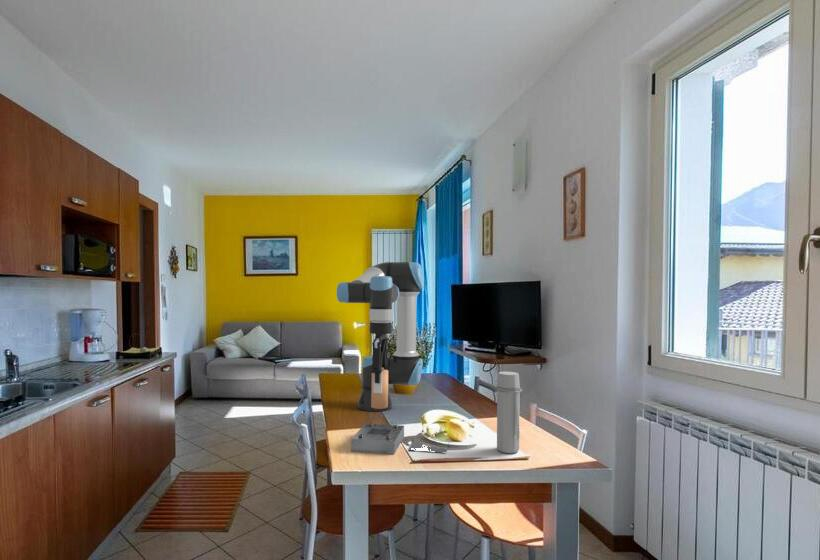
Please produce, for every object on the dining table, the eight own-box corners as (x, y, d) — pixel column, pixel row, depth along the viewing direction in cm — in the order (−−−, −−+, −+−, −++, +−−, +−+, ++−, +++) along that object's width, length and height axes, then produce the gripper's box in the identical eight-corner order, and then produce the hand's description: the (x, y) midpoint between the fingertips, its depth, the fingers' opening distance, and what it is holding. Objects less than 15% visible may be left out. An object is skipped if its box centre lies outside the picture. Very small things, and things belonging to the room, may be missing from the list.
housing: (365, 434, 164) (365, 421, 164) (404, 437, 162) (404, 423, 162) (351, 451, 146) (351, 436, 146) (394, 454, 144) (394, 439, 144)
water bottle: (491, 448, 151) (492, 371, 152) (511, 445, 154) (511, 370, 155) (508, 457, 142) (508, 376, 143) (528, 454, 145) (529, 375, 146)
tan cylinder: (373, 404, 158) (374, 366, 158) (389, 405, 157) (389, 366, 157) (369, 408, 152) (370, 368, 152) (386, 409, 151) (386, 369, 152)
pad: (414, 439, 159) (414, 438, 159) (449, 441, 157) (449, 440, 157) (408, 451, 147) (408, 449, 147) (446, 453, 145) (446, 452, 145)
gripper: (376, 319, 165) (375, 384, 164) (362, 323, 147) (361, 396, 146) (396, 320, 164) (395, 385, 163) (385, 323, 145) (384, 397, 145)
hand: (379, 390), depth 155 cm, fingers closed on tan cylinder, 6 cm apart
